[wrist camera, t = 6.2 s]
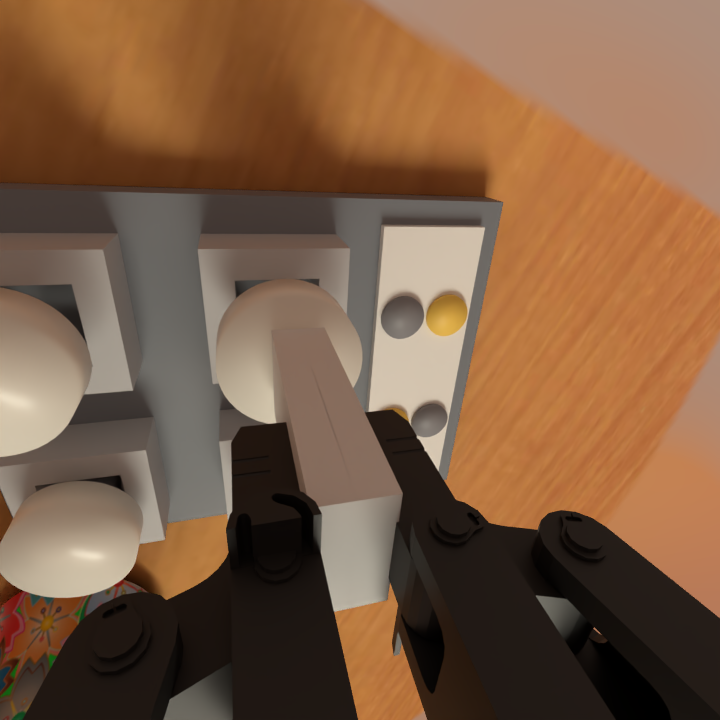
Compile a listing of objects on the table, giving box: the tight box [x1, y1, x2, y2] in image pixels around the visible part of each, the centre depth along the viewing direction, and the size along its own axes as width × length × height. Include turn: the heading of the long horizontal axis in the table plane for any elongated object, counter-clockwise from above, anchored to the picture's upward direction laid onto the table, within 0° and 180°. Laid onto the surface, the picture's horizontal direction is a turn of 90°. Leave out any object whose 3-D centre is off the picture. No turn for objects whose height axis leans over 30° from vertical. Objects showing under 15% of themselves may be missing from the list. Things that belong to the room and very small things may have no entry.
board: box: [0, 183, 503, 544], centre depth 20 cm, size 22×16×4 cm
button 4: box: [216, 279, 362, 424], centre depth 15 cm, size 4×4×4 cm
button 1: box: [0, 475, 143, 598], centre depth 18 cm, size 4×4×4 cm
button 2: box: [0, 287, 92, 457], centre depth 13 cm, size 4×4×4 cm
